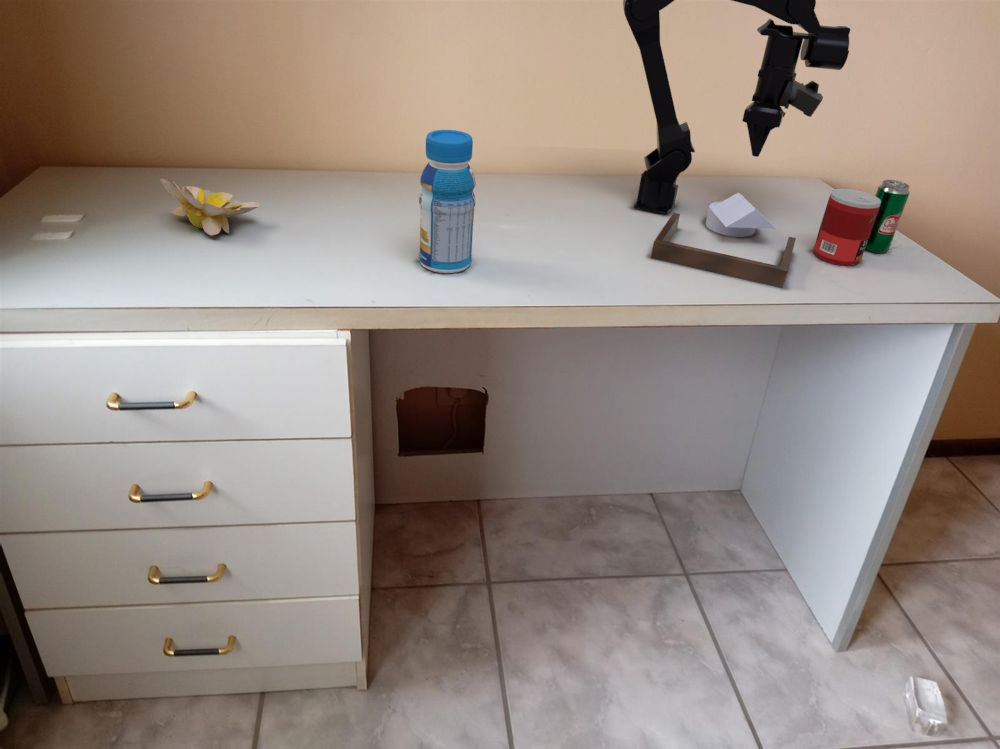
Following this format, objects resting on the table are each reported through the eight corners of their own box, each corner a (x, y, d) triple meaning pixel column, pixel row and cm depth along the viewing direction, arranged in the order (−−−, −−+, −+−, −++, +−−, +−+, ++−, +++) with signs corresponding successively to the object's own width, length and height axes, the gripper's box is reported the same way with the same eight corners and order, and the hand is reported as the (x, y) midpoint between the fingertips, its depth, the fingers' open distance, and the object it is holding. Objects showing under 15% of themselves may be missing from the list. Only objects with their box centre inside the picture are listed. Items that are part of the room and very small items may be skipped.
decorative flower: (275, 220, 127) (254, 163, 121) (216, 252, 122) (191, 194, 115) (229, 200, 136) (207, 146, 130) (171, 229, 130) (145, 174, 124)
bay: (650, 258, 129) (653, 241, 128) (670, 228, 141) (673, 212, 140) (782, 287, 123) (787, 270, 122) (791, 253, 135) (796, 237, 134)
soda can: (874, 255, 137) (898, 190, 131) (852, 244, 141) (874, 180, 134) (894, 252, 139) (918, 187, 133) (871, 241, 143) (893, 177, 136)
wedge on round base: (770, 246, 137) (745, 218, 148) (780, 210, 134) (753, 184, 144) (721, 245, 136) (699, 217, 147) (730, 208, 133) (706, 182, 144)
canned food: (864, 269, 132) (886, 207, 126) (815, 262, 133) (834, 200, 127) (855, 251, 138) (876, 192, 132) (809, 245, 139) (827, 185, 133)
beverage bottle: (451, 280, 117) (456, 148, 106) (407, 264, 121) (407, 135, 110) (482, 262, 124) (490, 135, 113) (439, 247, 127) (442, 123, 116)
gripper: (824, 81, 125) (797, 176, 133) (830, 62, 139) (805, 149, 148) (753, 70, 128) (731, 164, 136) (767, 53, 143) (746, 139, 151)
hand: (756, 154), depth 143 cm, fingers open, 3 cm apart
